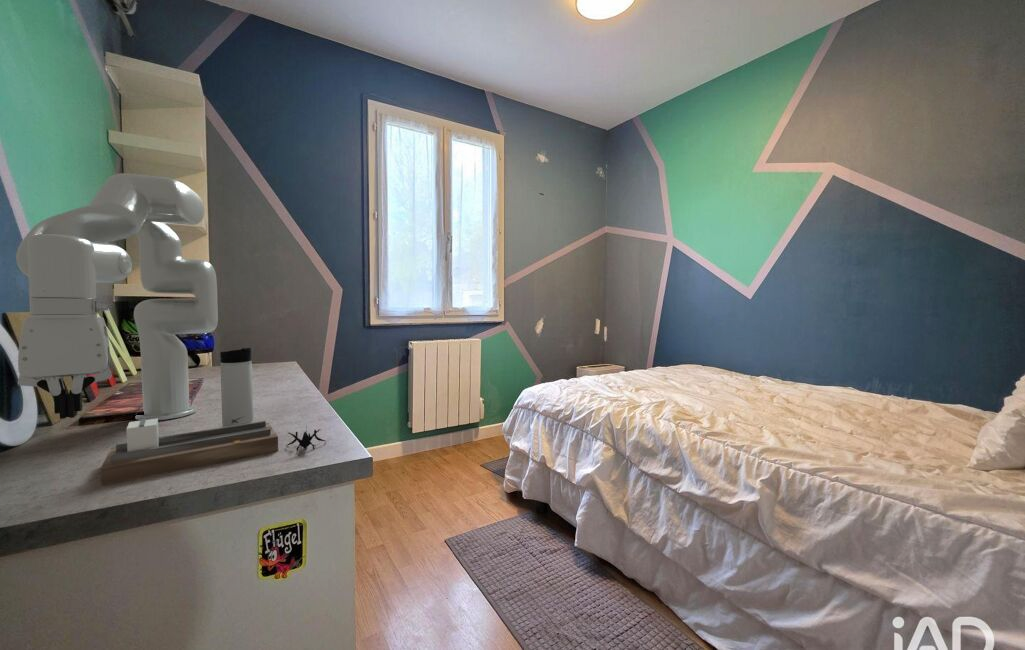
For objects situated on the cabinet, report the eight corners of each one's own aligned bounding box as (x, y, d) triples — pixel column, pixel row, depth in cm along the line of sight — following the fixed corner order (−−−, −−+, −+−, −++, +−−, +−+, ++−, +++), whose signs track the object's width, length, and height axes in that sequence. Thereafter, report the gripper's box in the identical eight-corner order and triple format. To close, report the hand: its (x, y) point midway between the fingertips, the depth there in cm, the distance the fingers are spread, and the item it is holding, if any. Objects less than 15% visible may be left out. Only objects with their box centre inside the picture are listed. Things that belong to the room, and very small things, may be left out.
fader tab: (130, 448, 75) (129, 420, 75) (158, 443, 78) (157, 417, 77) (127, 456, 71) (126, 427, 71) (157, 451, 74) (156, 423, 74)
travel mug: (239, 434, 94) (236, 349, 92) (215, 431, 95) (213, 348, 94) (260, 426, 100) (258, 346, 99) (238, 424, 101) (236, 345, 100)
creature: (287, 449, 87) (282, 454, 80) (287, 424, 88) (282, 427, 81) (327, 445, 90) (325, 449, 83) (326, 420, 91) (325, 422, 84)
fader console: (111, 463, 76) (110, 441, 76) (269, 435, 93) (268, 417, 92) (101, 485, 67) (100, 461, 67) (278, 450, 83) (277, 430, 83)
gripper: (128, 309, 75) (131, 406, 76) (2, 309, 65) (7, 419, 66) (123, 309, 69) (127, 413, 70) (-16, 309, 60) (-10, 430, 60)
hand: (69, 416), depth 68 cm, fingers closed
